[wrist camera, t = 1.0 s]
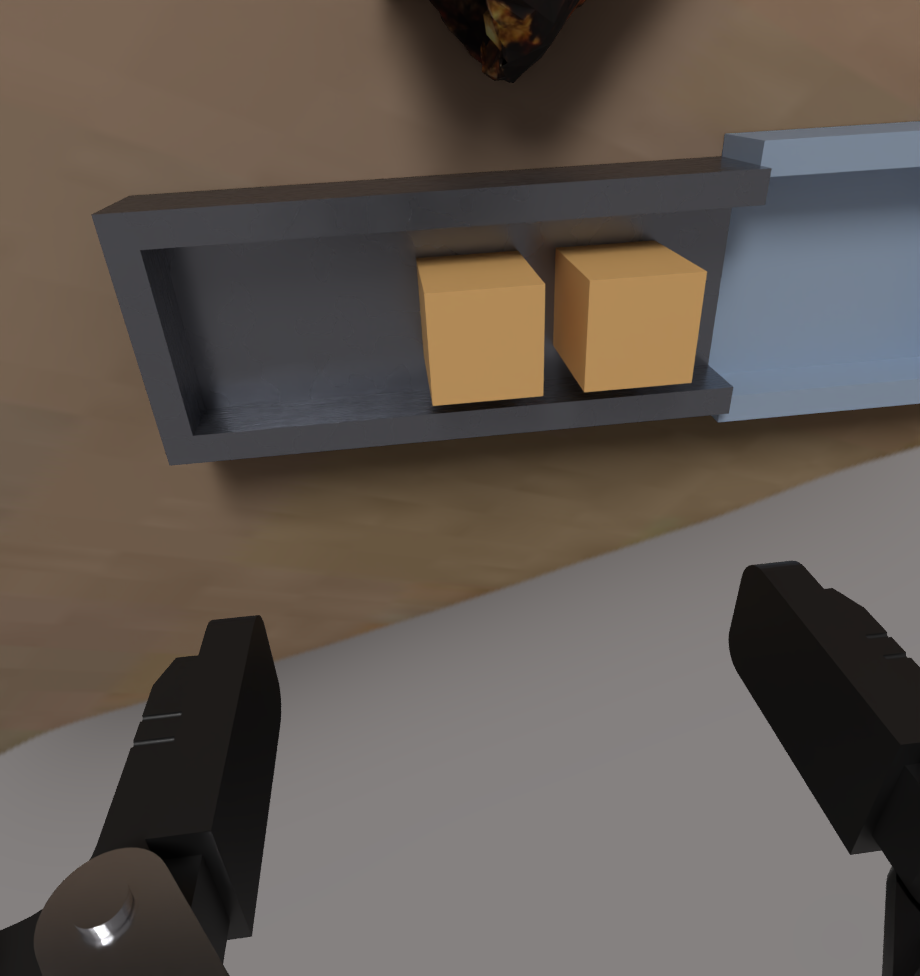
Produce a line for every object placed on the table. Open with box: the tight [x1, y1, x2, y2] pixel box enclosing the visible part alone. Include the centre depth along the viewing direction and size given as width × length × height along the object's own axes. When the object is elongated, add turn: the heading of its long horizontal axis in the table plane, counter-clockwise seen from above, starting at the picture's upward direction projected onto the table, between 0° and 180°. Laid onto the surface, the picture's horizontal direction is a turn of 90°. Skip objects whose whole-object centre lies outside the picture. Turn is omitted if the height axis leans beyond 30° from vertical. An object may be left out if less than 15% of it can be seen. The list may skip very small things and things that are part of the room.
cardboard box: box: [553, 240, 707, 392], centre depth 26 cm, size 4×4×5 cm
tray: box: [708, 121, 920, 422], centre depth 29 cm, size 12×11×3 cm
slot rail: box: [92, 156, 772, 465], centre depth 27 cm, size 23×9×4 cm, turn 93°
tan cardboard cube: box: [416, 251, 545, 406], centre depth 25 cm, size 4×4×5 cm
